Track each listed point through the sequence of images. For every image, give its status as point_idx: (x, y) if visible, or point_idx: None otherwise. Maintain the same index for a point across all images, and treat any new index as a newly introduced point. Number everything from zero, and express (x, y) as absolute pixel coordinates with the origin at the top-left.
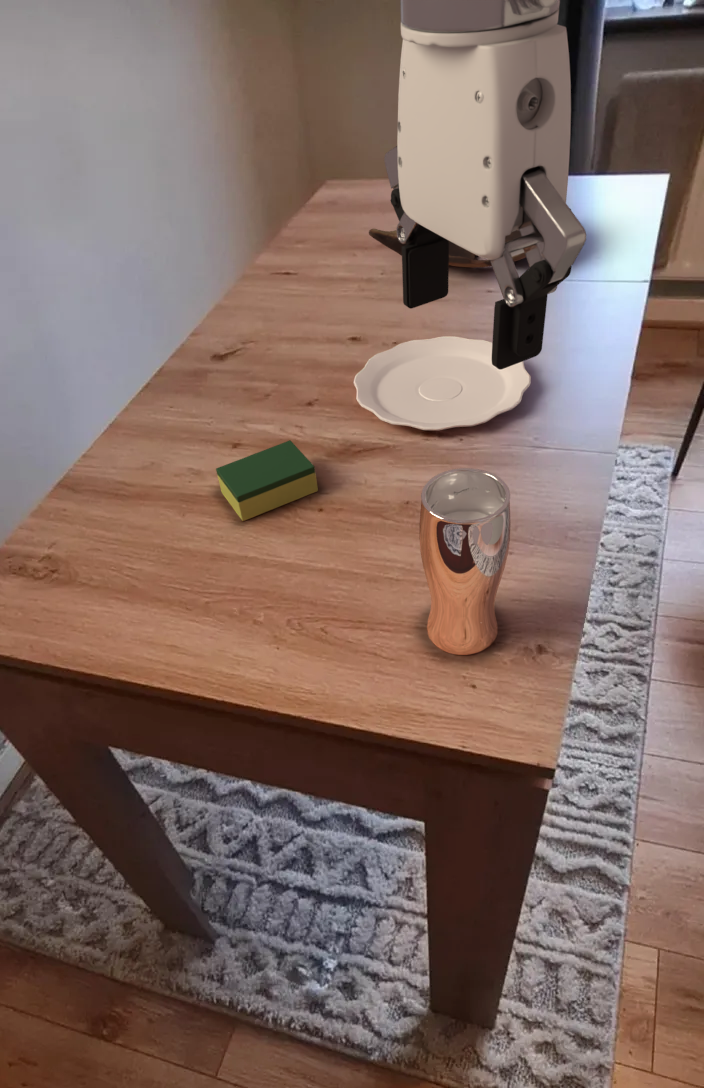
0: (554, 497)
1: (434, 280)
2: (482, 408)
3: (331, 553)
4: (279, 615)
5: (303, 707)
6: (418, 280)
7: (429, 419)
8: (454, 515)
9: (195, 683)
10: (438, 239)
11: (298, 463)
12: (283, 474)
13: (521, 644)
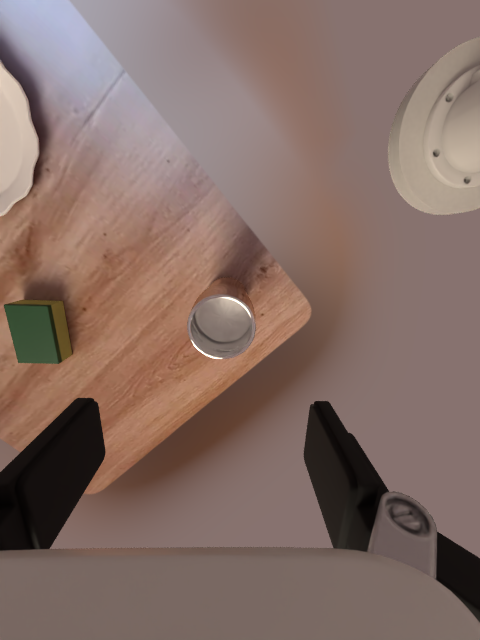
0: (153, 159)
1: (81, 445)
2: (9, 119)
3: (129, 324)
4: (162, 370)
5: (225, 385)
6: (81, 480)
7: (7, 175)
8: (202, 309)
9: (184, 418)
10: (17, 503)
11: (38, 314)
12: (47, 328)
13: (254, 276)
